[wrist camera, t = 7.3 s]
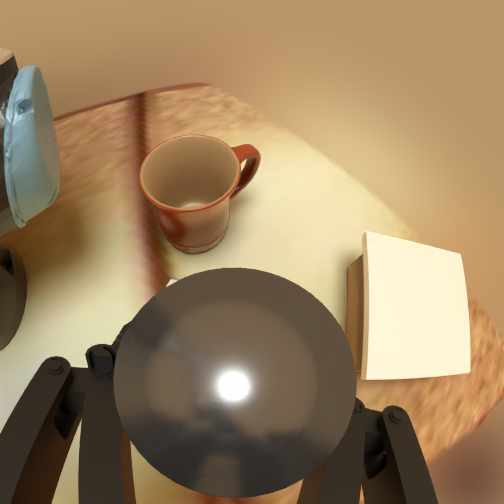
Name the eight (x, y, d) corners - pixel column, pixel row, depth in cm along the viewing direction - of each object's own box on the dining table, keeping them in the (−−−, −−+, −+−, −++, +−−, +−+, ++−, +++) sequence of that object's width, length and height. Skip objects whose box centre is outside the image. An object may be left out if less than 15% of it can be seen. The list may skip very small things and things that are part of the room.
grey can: (169, 411, 15) (99, 470, 4) (184, 322, 18) (139, 245, 7) (264, 426, 16) (340, 498, 5) (276, 337, 18) (364, 283, 7)
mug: (181, 277, 29) (165, 230, 20) (146, 218, 32) (125, 159, 22) (271, 225, 33) (290, 167, 24) (230, 175, 36) (236, 113, 26)
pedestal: (334, 380, 26) (366, 379, 20) (339, 259, 32) (366, 230, 26) (431, 378, 27) (470, 372, 21) (428, 275, 33) (460, 254, 27)
